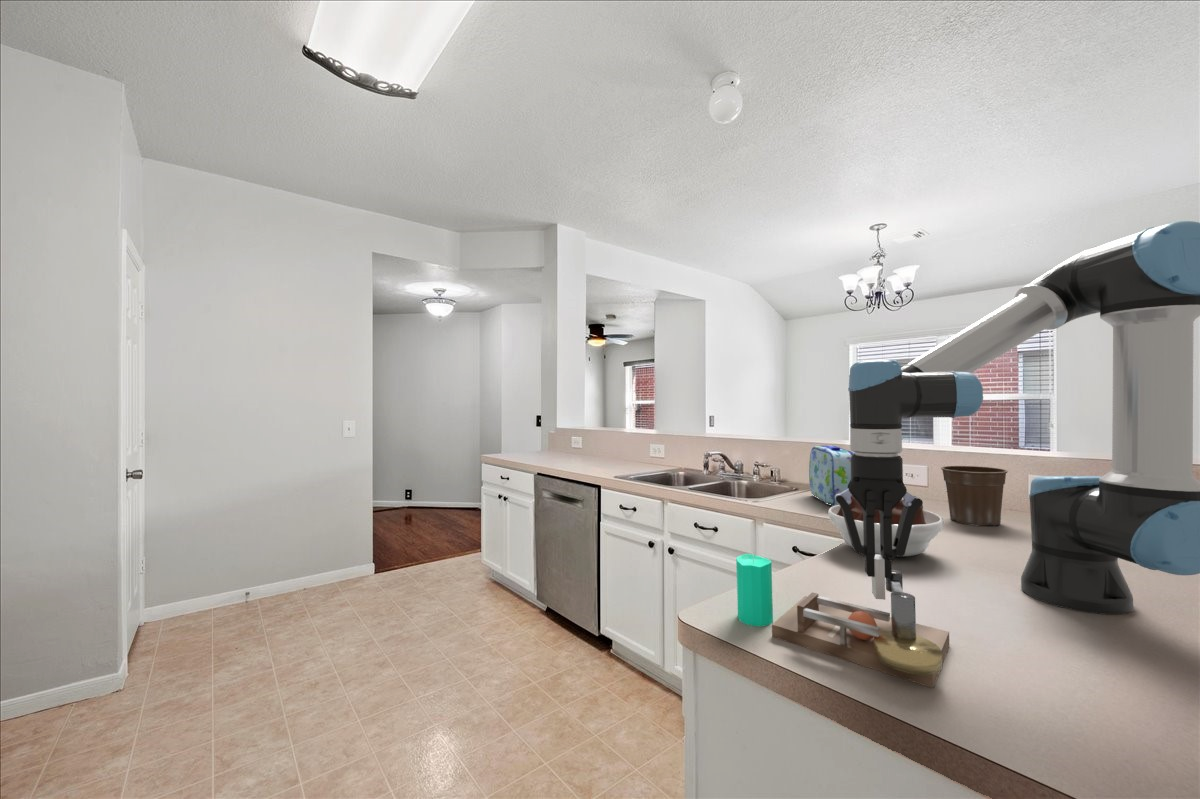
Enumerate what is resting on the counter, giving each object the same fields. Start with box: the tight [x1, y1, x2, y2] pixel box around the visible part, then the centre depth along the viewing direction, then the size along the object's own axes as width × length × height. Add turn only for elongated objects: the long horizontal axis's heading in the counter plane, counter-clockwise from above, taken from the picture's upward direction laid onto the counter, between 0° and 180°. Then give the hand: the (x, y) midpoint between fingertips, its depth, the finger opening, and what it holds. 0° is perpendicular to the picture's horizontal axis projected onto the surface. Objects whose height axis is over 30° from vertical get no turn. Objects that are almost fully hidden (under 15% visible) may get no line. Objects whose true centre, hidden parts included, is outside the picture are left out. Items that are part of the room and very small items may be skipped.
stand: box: [771, 591, 950, 689], centre depth 78 cm, size 22×15×6 cm
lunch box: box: [808, 445, 854, 506], centre depth 180 cm, size 26×11×21 cm, turn 174°
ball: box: [848, 611, 877, 640], centre depth 74 cm, size 4×4×4 cm
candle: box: [735, 551, 774, 627], centre depth 86 cm, size 6×6×12 cm
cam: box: [874, 569, 943, 675], centre depth 73 cm, size 10×19×8 cm, turn 134°
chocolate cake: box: [827, 495, 945, 557], centre depth 122 cm, size 25×25×15 cm
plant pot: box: [940, 465, 1009, 527], centre depth 148 cm, size 16×16×16 cm
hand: (878, 596), depth 81 cm, fingers closed
